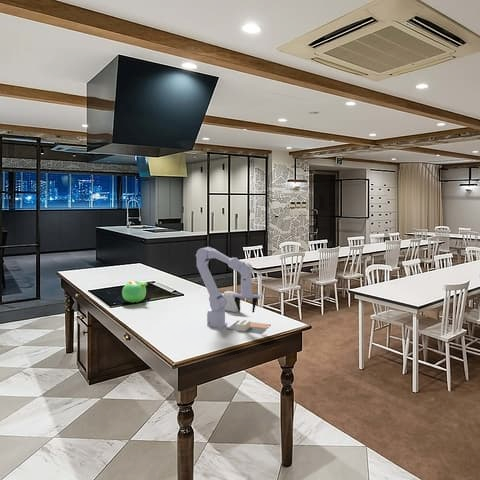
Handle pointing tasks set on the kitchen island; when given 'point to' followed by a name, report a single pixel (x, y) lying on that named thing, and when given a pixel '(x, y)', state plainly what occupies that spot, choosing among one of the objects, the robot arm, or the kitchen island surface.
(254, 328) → the mat
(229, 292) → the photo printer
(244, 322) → the card deck
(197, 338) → the kitchen island surface
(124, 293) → the green apple
